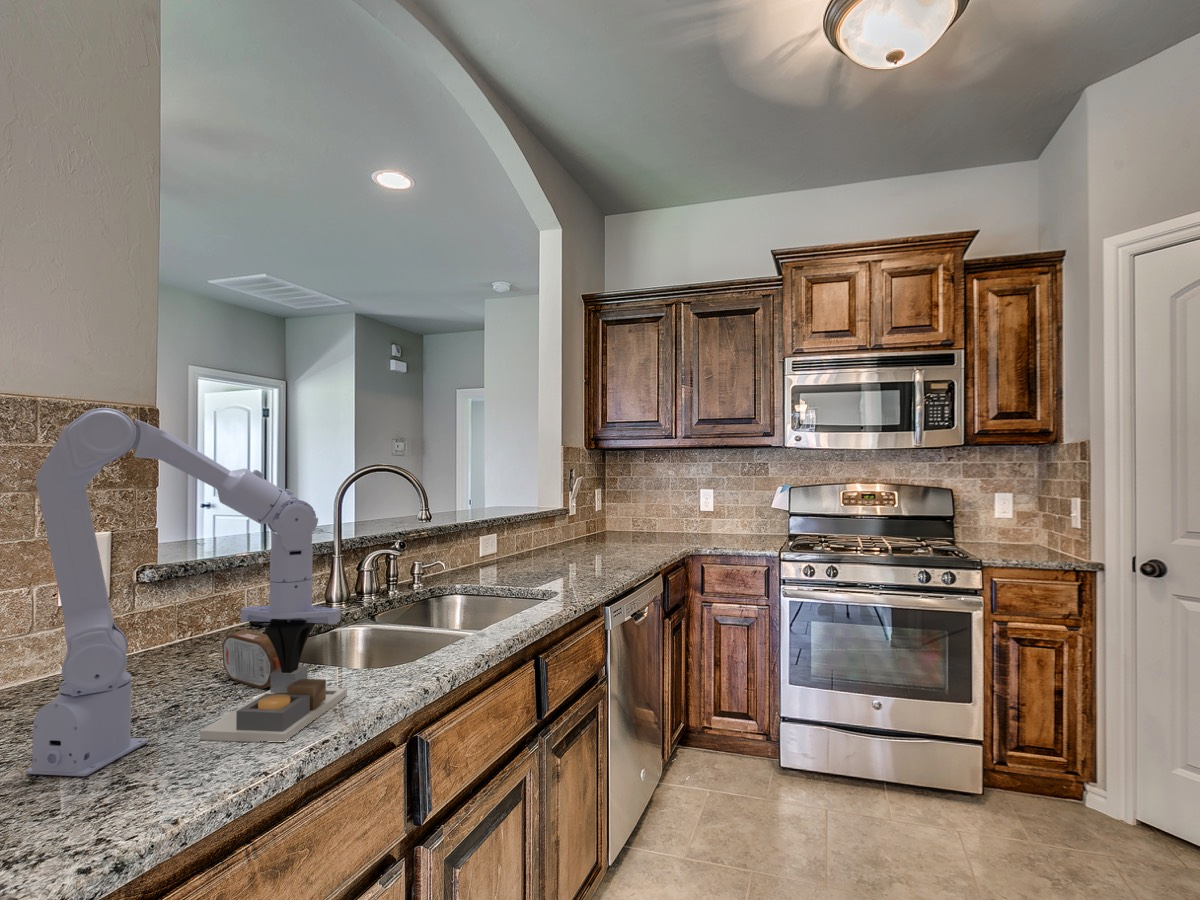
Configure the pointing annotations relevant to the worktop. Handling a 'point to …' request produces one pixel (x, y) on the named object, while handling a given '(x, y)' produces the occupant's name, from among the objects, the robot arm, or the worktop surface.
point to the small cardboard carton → (309, 690)
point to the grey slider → (286, 679)
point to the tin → (250, 658)
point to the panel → (270, 719)
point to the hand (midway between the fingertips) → (289, 671)
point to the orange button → (274, 702)
